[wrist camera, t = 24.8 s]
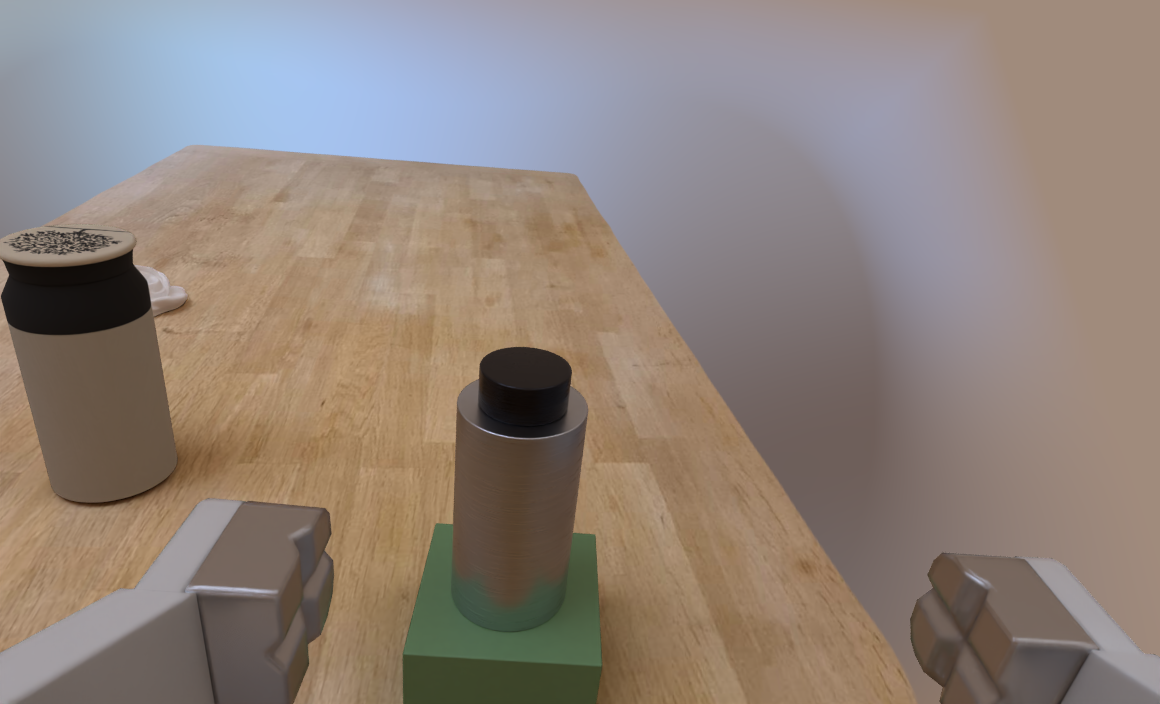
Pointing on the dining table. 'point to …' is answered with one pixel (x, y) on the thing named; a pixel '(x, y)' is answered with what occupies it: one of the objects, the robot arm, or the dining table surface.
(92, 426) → the travel mug
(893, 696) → the dining table surface
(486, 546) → the flask
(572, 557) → the green block
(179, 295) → the rose
